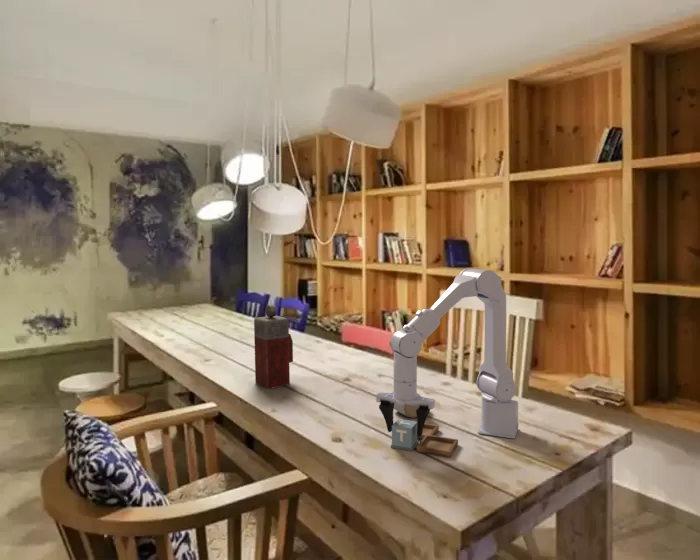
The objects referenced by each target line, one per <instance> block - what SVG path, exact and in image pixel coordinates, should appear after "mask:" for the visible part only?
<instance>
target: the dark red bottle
mask: <svg viewBox="0 0 700 560" xmlns="http://www.w3.org/2000/svg"><path fill="white" fill-rule="evenodd" d="M277 310H278V309H277V306H276V305H275V304H267V305H266V307H265V315H266V316H260V317H255V318H254V319H253V327H254V328H253V331H254V335H253V336H254V337H253V339H254V369H255V371H254V372H255V373H254V377H255V379H254V380H255V384H256V383H257V384H256V385H258V384H259V385H258V386H260V385H261V386H260V387H262V386H263V388H264V387H265V388H264V389H266V388H267V389H266V390H269V389H268V388H270V389H273V388H272V387H275V388H278V387H277V386H280V387H283V386H282V385H284V386H287V385H286V384H289V385H290V384H291V383H290V379H291V377H290V375H291V374H290V363H293V362H294V349H293V347H294V345H293V344H294V343H293V338H292V335H291V334H290V332H289V331H290V330H289V329H290V328H289V327H290V326H289V323H290V321H289V319H288V318H286V317H284V316H283V317H282V316H279V315H277V312H278V311H277Z"/></svg>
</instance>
